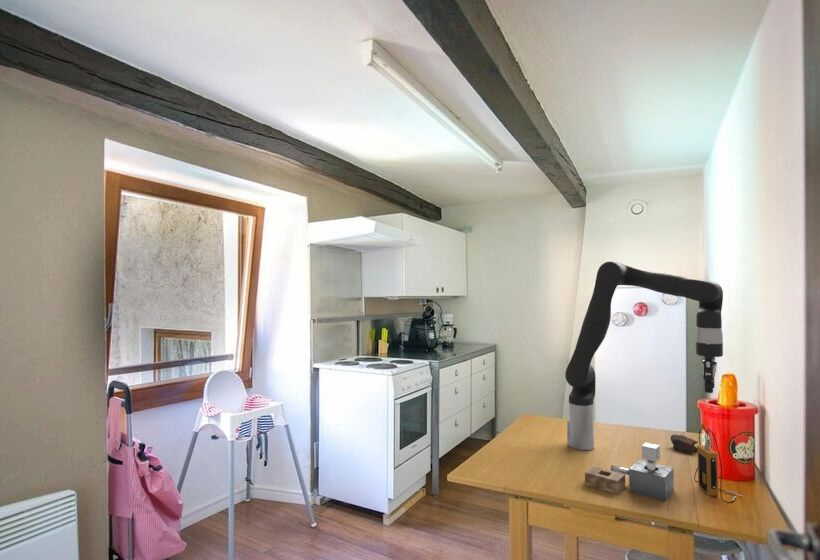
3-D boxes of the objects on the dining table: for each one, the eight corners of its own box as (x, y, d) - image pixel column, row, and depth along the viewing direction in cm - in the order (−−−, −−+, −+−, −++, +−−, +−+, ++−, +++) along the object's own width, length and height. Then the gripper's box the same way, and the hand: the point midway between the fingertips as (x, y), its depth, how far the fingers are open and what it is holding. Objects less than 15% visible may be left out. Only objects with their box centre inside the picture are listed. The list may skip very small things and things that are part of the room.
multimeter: (752, 504, 131) (750, 435, 132) (714, 502, 133) (712, 433, 134) (726, 483, 146) (725, 420, 146) (692, 481, 148) (691, 419, 148)
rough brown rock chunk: (701, 439, 174) (672, 429, 180) (697, 450, 169) (667, 440, 176) (700, 450, 176) (671, 440, 182) (696, 462, 172) (666, 451, 178)
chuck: (606, 485, 145) (605, 462, 145) (616, 475, 153) (616, 454, 153) (665, 501, 134) (665, 477, 134) (673, 490, 141) (673, 467, 141)
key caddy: (585, 485, 145) (584, 472, 145) (593, 478, 150) (593, 466, 151) (617, 494, 139) (617, 481, 139) (625, 487, 144) (625, 474, 144)
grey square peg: (642, 484, 141) (641, 445, 141) (646, 480, 144) (645, 442, 144) (656, 488, 138) (656, 448, 138) (660, 484, 141) (659, 445, 141)
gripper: (697, 338, 159) (698, 385, 159) (693, 342, 148) (694, 392, 147) (723, 340, 155) (724, 387, 154) (721, 344, 143) (722, 395, 143)
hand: (709, 390), depth 151 cm, fingers open, 8 cm apart
